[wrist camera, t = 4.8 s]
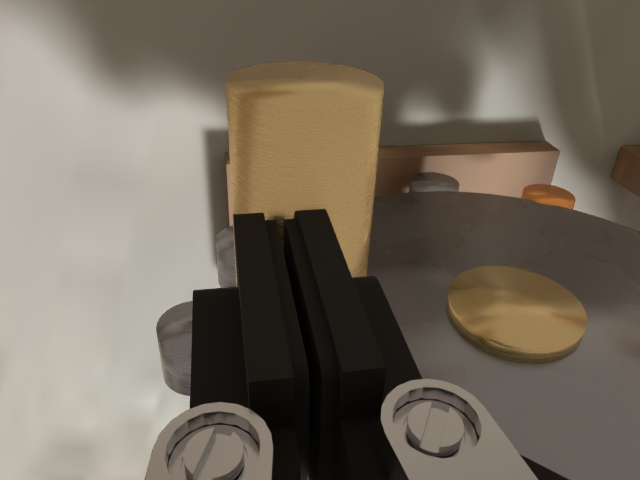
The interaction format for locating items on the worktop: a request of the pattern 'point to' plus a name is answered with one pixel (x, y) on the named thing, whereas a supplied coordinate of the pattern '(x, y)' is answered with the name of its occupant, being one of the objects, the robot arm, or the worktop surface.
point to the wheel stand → (479, 167)
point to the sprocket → (448, 269)
